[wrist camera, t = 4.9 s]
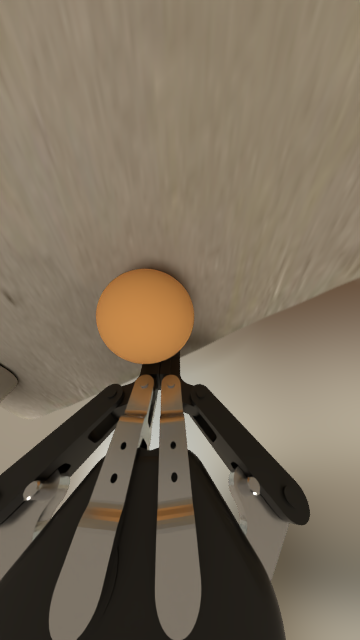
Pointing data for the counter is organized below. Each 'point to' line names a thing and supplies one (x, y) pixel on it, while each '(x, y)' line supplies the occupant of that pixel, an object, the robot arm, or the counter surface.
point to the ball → (145, 316)
